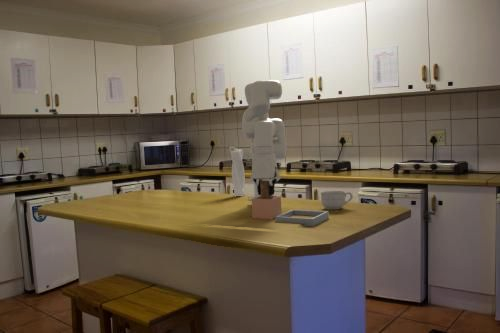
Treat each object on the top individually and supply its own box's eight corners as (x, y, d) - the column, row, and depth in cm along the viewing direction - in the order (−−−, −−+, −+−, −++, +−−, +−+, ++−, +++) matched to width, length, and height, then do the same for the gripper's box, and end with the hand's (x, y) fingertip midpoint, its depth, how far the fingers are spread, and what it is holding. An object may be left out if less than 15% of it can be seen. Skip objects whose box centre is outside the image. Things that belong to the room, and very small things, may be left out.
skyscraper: (233, 197, 263) (230, 147, 261) (230, 195, 270) (227, 146, 268) (247, 196, 265) (244, 146, 263) (243, 194, 272) (241, 146, 270)
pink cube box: (252, 220, 196) (251, 198, 195) (263, 216, 204) (261, 195, 203) (271, 221, 191) (270, 199, 191) (281, 217, 199) (280, 196, 198)
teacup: (318, 210, 211) (317, 192, 210) (325, 206, 220) (325, 189, 220) (348, 211, 204) (348, 193, 204) (355, 207, 214) (354, 189, 213)
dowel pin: (259, 217, 197) (258, 181, 195) (265, 215, 200) (263, 180, 199) (269, 217, 194) (267, 181, 193) (274, 215, 198) (272, 180, 197)
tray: (275, 223, 186) (275, 216, 186) (292, 216, 200) (292, 209, 200) (313, 226, 178) (313, 219, 178) (328, 218, 192) (328, 211, 192)
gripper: (241, 151, 196) (244, 195, 198) (278, 151, 188) (280, 196, 189) (250, 150, 203) (253, 192, 204) (286, 149, 194) (288, 193, 196)
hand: (266, 194), depth 197 cm, fingers closed on dowel pin, 4 cm apart
